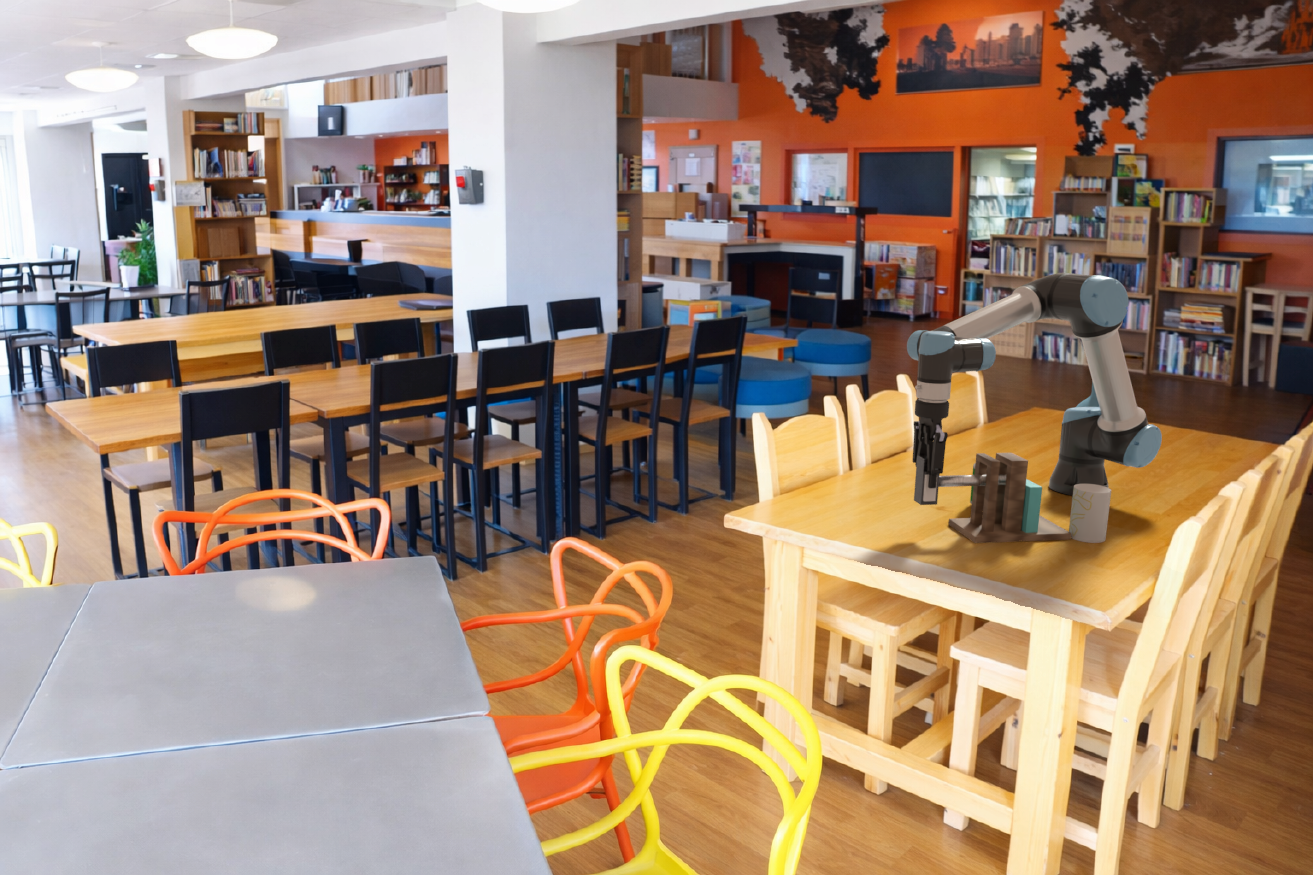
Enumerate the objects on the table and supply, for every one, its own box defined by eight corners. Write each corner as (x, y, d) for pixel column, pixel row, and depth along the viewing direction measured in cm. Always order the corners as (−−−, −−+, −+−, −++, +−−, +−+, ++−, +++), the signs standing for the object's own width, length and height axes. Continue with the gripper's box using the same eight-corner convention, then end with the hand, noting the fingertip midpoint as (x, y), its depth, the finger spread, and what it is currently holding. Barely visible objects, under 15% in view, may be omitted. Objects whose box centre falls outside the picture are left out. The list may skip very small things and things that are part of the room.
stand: (1039, 521, 257) (1047, 448, 253) (1070, 539, 244) (1079, 462, 240) (948, 524, 253) (954, 450, 249) (974, 543, 240) (982, 465, 236)
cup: (1062, 532, 249) (1067, 483, 247) (1094, 531, 250) (1100, 483, 247) (1078, 542, 242) (1084, 493, 239) (1112, 542, 242) (1118, 492, 240)
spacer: (1014, 518, 254) (1018, 474, 252) (1037, 532, 244) (1042, 487, 241) (1002, 518, 254) (1007, 475, 251) (1025, 532, 243) (1030, 487, 241)
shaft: (1004, 497, 249) (1009, 452, 246) (1013, 502, 245) (1017, 456, 242) (913, 500, 245) (917, 454, 242) (920, 505, 241) (924, 458, 239)
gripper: (902, 392, 245) (895, 488, 251) (932, 407, 229) (924, 509, 234) (932, 392, 247) (924, 487, 252) (964, 406, 230) (956, 507, 235)
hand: (924, 497), depth 243 cm, fingers closed on shaft, 4 cm apart
